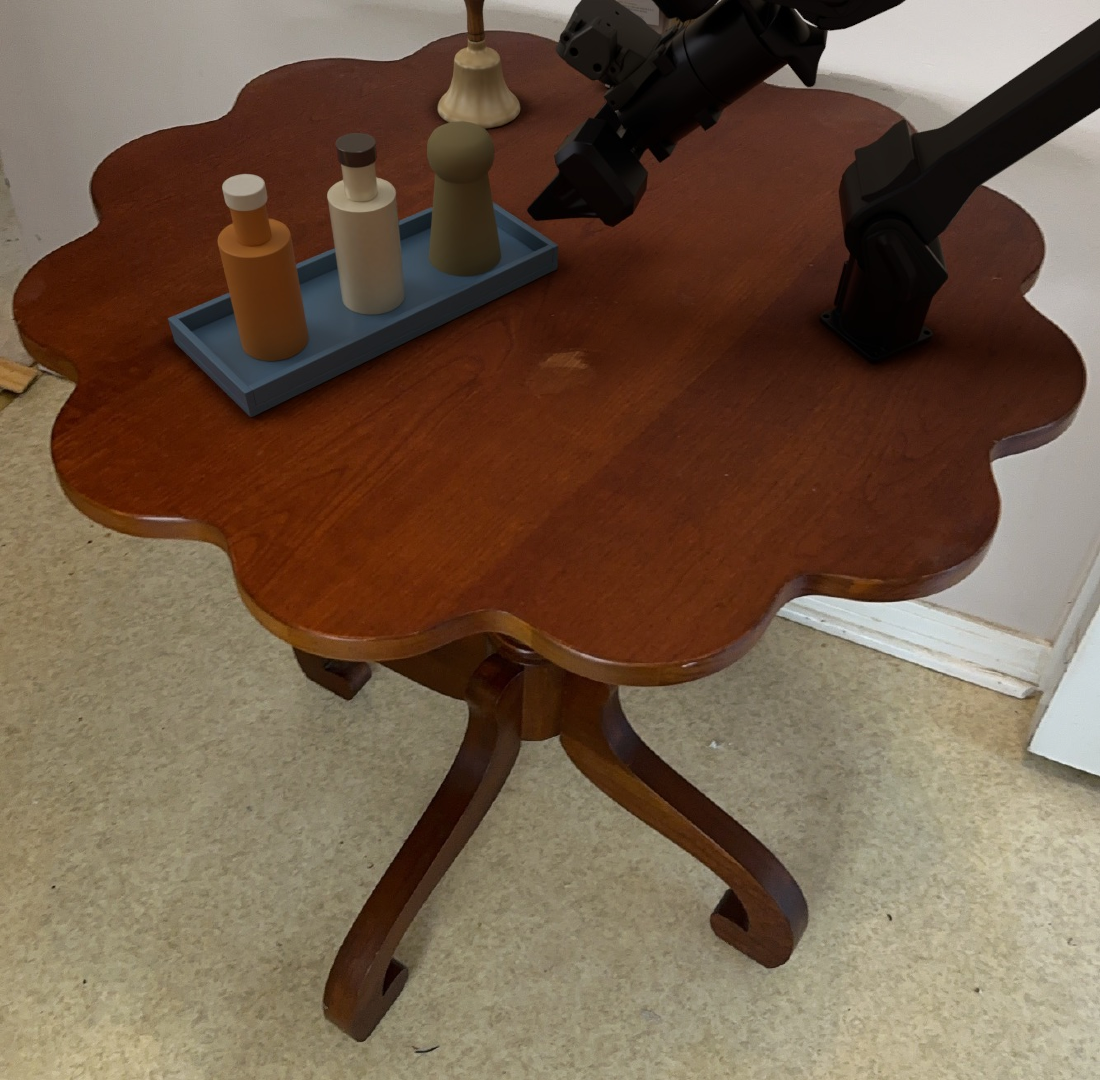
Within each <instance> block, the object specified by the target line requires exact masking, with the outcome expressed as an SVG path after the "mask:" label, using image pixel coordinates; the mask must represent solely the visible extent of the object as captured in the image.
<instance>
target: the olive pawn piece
mask: <svg viewBox="0 0 1100 1080" xmlns="http://www.w3.org/2000/svg"><path fill="white" fill-rule="evenodd" d="M426 158H427V162H428V164H429V167H430V169H431V170H432V172H433V173H434V186H433V198H432V207H433V210H432V222H431V235H430V248H429V260H430V262H431V264H432V265H433V266H434V267H435V268H436V269H438V270H439V271H441V272H444V273H446V274H449V275H454V276H475V275H480V274H483V273H486V272H488V271H490V270H492V269H493V268H494V267H495V266H497V265H498V264H499V262H500V259H501V249H500V243H499V237H498V231H497V225H496V219H495V213H494V207H493V196H492V189H491V188H492V187H491V184H490V183H491V182H490V177H489V172H490V170H491V168H492V167H493V164H494V161H495V144H494V141H493V138H492V136H491V135H490V133H489V132H488V130H487V129H484V128H483V127H481V126H479V125H477V124H474V123H471V122H464V121H457V122H450V123H449V122H446V123H444V124H442V125H439V126H438V127H436V128H434V129H433V131H432V133H431V134H430V135H429V137H428V139H427V144H426Z"/></svg>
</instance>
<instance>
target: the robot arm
mask: <svg viewBox="0 0 1100 1080" xmlns="http://www.w3.org/2000/svg"><path fill="white" fill-rule="evenodd" d="M652 1H653V2H654V3H655V4H656V6H657V7H658V8H659V9H660V10H661V11H662V13H663V14H664V15H665V16H666V17H667V18H668V19H673V18H676V17H678V18H679V20H680V21H681V22H682V23H684V22H686V21H687V20H689V19H692V20H693V19H696V18H698V17H699V18H698V19H697V20H695V21H694V22H693V23H692V24H690V25H689V26H688V27H685V26H684V25H683V24H682V25H681V26H680V27H677V26H676V25H674V26H672V27H671V28H670V29H669V30H667V31H666V32H665V33H663V34H659V33H657V32H656V31H655V30H654V29H652V28H651V27H650V26H648V25H647V23H646V22H645V21H644V20H643V19H642V18H640V17H639V16H638V15H636V14H635V13H633V12H632V11H630V10H629V9H627V8H626V7H625V6H623V5H622V4H620V3H619V2H617V1H616V0H580V1H579V2H578V3H577V5H576V6H575V7H574V9H573V11H572V13H571V16H570V18H569V19H568V21H567V23H566V25H565V27H564V29H563V30H562V31H561V33H560V35H559V39H558V41H557V44H556V45H555V52H556V54H557V55H558V57H559V58H561V59H562V60H563V61H564V62H565V63H566V64H567V65H568V66H569V67H571V68H572V69H574V70H575V71H577V72H578V73H579V74H581V75H583V76H584V77H586V78H587V79H589V80H590V81H593V82H594V81H599V82H600V83H602V84H604V85H605V84H606V85H610V88H608V90H607V91H606V92H605V93H604V95H603V99H605V102H604V103H603V105H602V106H601V107H600V108H599V110H598V111H597V112H596V114H595V115H594V116H593V117H588V118H586V119H584V121H582V122H581V123H580V124H578V125H577V126H576V127H575V128H574V129H573V130H572V131H571V132H570V133H569V134H567V135H566V136H565V138H564V139H563V141H562V142H561V144H560V145H559V146H558V148H557V150H556V151H555V153H554V155H553V158H554V164H555V165H556V168H557V169H558V172H557V173H556V174H555V176H554V177H553V178H552V179H551V180H550V181H549V182H548V183H547V184H546V186H545V187H544V188H543V189H542V190H541V192H540V193H539V194H538V195H537V196H536V197H535V198H534V199H533V201H532V202H531V203H530V205H529V206H528V207H527V208H526V212H527V214H528V215H530V217H531V218H532V219H533V220H534V221H535V222H542V221H555V220H569V219H599V220H600V221H601V222H603V224H604V225H605V226H608V227H610V228H614V227H616V226H617V225H620V223H622V222H623V221H625V220H626V219H628V218H629V217H631V216H632V215H634V213H635V211H636V209H637V207H638V206H639V204H640V202H641V200H642V198H643V197H644V194H645V193H646V192H647V187H648V178H649V171H648V170H647V169H646V167H645V166H644V165H643V164H642V162H640V161H642V158H643V156H644V154H645V153H646V151H647V150H648V151H650V153H651V154H652V156H653V157H654V158H655V159H656V160H657V162H658V163H659V164H661V163H663V162H664V161H665V160H667V159H668V158H669V157H671V155H672V154H673V152H674V150H675V148H676V146H677V144H678V143H679V142H680V141H681V140H683V139H684V138H685V137H687V136H688V135H690V134H691V133H692V132H694V131H695V130H697V129H698V128H699V127H701V128H702V129H703V131H704V132H706V131H708V130H709V129H711V128H712V127H713V126H715V125H716V124H717V123H718V121H719V120H720V117H721V116H722V114H723V112H724V110H725V109H727V108H729V106H730V105H732V104H733V103H735V102H736V101H738V100H740V99H741V98H742V97H743V96H745V95H746V94H748V93H749V92H750V91H752V90H753V89H755V88H756V87H757V86H759V85H760V84H762V83H763V82H764V81H766V80H767V79H769V78H770V77H771V76H773V75H774V74H776V73H777V72H779V71H780V70H781V69H783V68H784V67H785V66H787V65H788V67H789V68H790V69H791V70H792V72H793V73H794V74H795V75H796V77H797V78H798V79H799V80H800V82H801V83H802V84H803V85H804V86H805V87H807V88H812V87H815V85H816V83H817V77H818V71H819V63H820V60H821V58H822V55H823V54H824V51H825V50H826V47H827V41H828V35H829V34H828V33H829V32H833V31H839V30H840V31H841V30H846V29H849V28H852V27H855V26H857V25H859V24H861V23H863V22H866V21H867V20H869V19H872V18H874V17H876V16H878V15H881V14H883V13H885V12H887V11H890V10H891V9H894V8H897V7H898V6H900V5H902V4H903V3H905V2H906V1H907V0H652ZM1099 109H1100V17H1098V19H1096V20H1095V21H1093V22H1092V23H1090V24H1089V25H1088V26H1087V27H1085V28H1083V29H1081V30H1080V31H1079V32H1077V33H1076V34H1074V35H1073V36H1072V37H1071V38H1069V39H1068V40H1066V41H1065V42H1063V43H1062V44H1060V45H1059V46H1057V47H1056V48H1055V49H1053V50H1052V51H1050V52H1049V53H1047V54H1046V55H1044V56H1043V57H1042V58H1040V59H1039V60H1037V61H1036V62H1034V63H1033V64H1032V65H1031V66H1028V67H1027V68H1026V69H1024V70H1023V71H1021V72H1020V73H1019V74H1017V75H1016V76H1014V77H1013V78H1012V79H1010V80H1009V81H1007V82H1006V83H1004V84H1003V85H1002V86H1000V87H999V88H997V89H995V90H994V91H993V92H991V93H990V94H988V95H987V96H986V97H984V98H983V99H981V100H980V101H978V102H977V103H976V104H974V105H973V106H971V107H969V108H968V109H967V110H965V111H964V112H963V113H961V114H960V115H958V116H956V117H955V118H954V119H953V120H951V121H950V122H947V124H945V125H942V126H941V127H938V128H937V127H936V128H933V129H928V130H923V131H919V132H914V133H913V132H912V129H911V127H910V125H909V123H908V121H907V119H901V120H899V121H897V122H896V123H894V124H893V125H892V126H891V127H889V129H887V130H886V131H885V133H883V134H882V136H880V137H879V138H878V139H876V140H875V141H873V142H871V143H870V144H867V145H865V146H862V147H859V148H856V149H854V158H855V160H854V161H853V162H852V163H851V164H849V165H848V166H847V168H846V169H845V170H844V172H843V173H842V175H841V180H840V183H839V187H838V198H839V207H840V215H841V225H842V231H843V239H844V247H845V248H846V249H847V252H848V253H849V255H848V259H847V260H844V262H843V265H842V269H841V273H840V278H839V281H838V285H837V288H836V292H835V296H834V300H833V306H834V307H835V308H832V309H829V310H827V311H825V312H822V313H820V315H819V319H818V321H819V323H820V324H822V325H823V326H824V327H825V328H827V330H829V331H830V332H831V333H832V334H834V335H835V336H836V337H838V338H839V339H841V341H843V342H844V343H845V344H846V345H848V346H849V347H850V348H851V349H853V350H854V351H855V352H856V353H857V354H859V355H860V356H861V357H862V358H863V359H865V360H866V361H868V362H869V363H872V364H875V363H879V362H882V361H883V360H886V359H888V358H891V357H894V356H896V355H898V354H900V353H903V352H905V351H908V350H911V349H912V348H913V349H914V348H915V347H918V346H920V345H922V344H925V343H927V342H929V341H931V340H932V338H933V336H934V332H933V331H932V330H931V329H930V328H929V327H928V326H925V321H926V318H927V315H928V313H929V310H930V307H931V303H932V301H933V298H934V297H935V296H936V294H937V293H938V292H939V291H940V289H941V288H942V287H943V286H944V284H945V283H946V282H947V281H948V279H949V274H948V268H947V265H946V259H945V255H944V251H943V247H942V243H941V238H940V235H942V234H943V233H944V232H945V231H946V230H947V229H948V228H949V226H950V225H951V224H952V222H953V221H954V220H955V218H956V217H957V215H958V214H959V213H960V211H961V210H962V209H963V207H964V206H965V204H966V203H967V202H968V200H969V199H970V198H971V196H972V195H973V194H974V193H975V191H976V190H977V189H979V188H980V187H981V186H982V185H984V184H985V183H987V182H989V181H990V180H991V179H993V178H994V177H996V176H998V175H999V174H1001V173H1003V171H1005V170H1007V169H1009V168H1010V167H1012V166H1013V165H1015V164H1016V163H1017V162H1019V161H1021V160H1022V159H1024V158H1025V157H1027V156H1028V155H1030V154H1031V153H1033V152H1034V151H1036V150H1037V149H1039V148H1041V147H1042V146H1044V145H1046V144H1047V143H1048V142H1050V141H1052V140H1054V139H1055V138H1056V137H1058V136H1059V135H1061V134H1062V133H1064V132H1065V131H1067V130H1069V129H1070V128H1072V127H1073V126H1075V125H1076V124H1078V123H1079V122H1081V121H1082V120H1084V119H1086V118H1087V117H1088V116H1090V115H1092V114H1093V113H1095V112H1096V111H1098V110H1099Z"/></svg>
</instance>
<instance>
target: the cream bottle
mask: <svg viewBox="0 0 1100 1080" xmlns="http://www.w3.org/2000/svg"><path fill="white" fill-rule="evenodd" d="M376 141H377V140H376V138H374V136H372V135H370V134H368V133H363V132H351V133H346V134H343V135H341V136H340V137H338V138H337V139H336V141H335V149H336V157H337V158H336V159H337V161H338V163H339V164H340V165H341V166H340V167H341V174H342V180H339V181H337V182H336V183H334V184H333V185H332V186H331V187H330V188H329V189H328V191H327V194H326V197H327V204H328V212H329V219H330V225H331V233H332V239H333V240H332V241H333V246H334V248H335V254H336V261H337V268H338V275H339V282H340V289H341V296H342V301H343V303H344V305H345V306H346V307H347V308H348V309H350V310H352V311H354V312H357V313H360V314H366V315H376V314H383V313H386V312H389V311H392V310H394V309H395V308H397V307H398V306H400V305H401V303H402V302H403V301H404V298H405V286H404V275H403V264H402V253H401V242H400V231H399V221H400V220H399V211H398V199H397V191H396V187H394V185H393V184H392V183H391V182H389V181H388V180H386V179H383V178H381V177H377V167H376V161H377V159H378V153H377V142H376Z"/></svg>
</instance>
